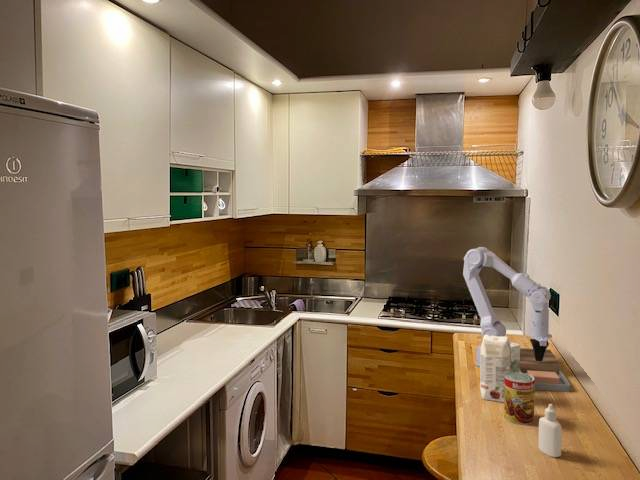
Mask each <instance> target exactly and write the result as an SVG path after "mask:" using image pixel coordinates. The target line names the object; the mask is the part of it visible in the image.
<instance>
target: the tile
mask: <svg viewBox="0 0 640 480" xmlns="http://www.w3.org/2000/svg"><path fill="white" fill-rule="evenodd" d="M527 374H529V375H531V376H533V377H534V378H535V383H549V384H559V377H558V375H557V374H556V372H546V371H529V370H527Z"/></svg>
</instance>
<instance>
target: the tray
mask: <svg viewBox="0 0 640 480" xmlns="http://www.w3.org/2000/svg"><path fill="white" fill-rule="evenodd" d="M519 372H521V370H520V368H519ZM526 374H527V373H526ZM558 377H559V384H549V383H535V391H536V390H537V391H539V390H540V391H549V392H550V391H551V392H563V393H565V392H566V393H571V392H572V385H571V384H570V382H569V380H568V378H566V376H565V374H564V373H563V372H562V370H561V371H559V375H558Z"/></svg>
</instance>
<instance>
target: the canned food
mask: <svg viewBox="0 0 640 480" xmlns="http://www.w3.org/2000/svg"><path fill="white" fill-rule="evenodd" d="M535 391H536V390H535V378H534V377H533V376H531V375H529V374H526V373H521V372H510V373H506V374H505V375H504V402H503V418H504V419H505V420H506V421H508V422H509V423H512V424H515V425H523V426H524V425H525V426H526V425H530V424H532V423H534V421H535Z"/></svg>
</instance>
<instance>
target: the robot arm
mask: <svg viewBox="0 0 640 480" xmlns="http://www.w3.org/2000/svg"><path fill="white" fill-rule="evenodd" d="M463 261H464V262H463V268H462V269H463V271H462V276H463V278H464V281H465V284H466V286H467V288H468V291H469V293H470V296H471V298H472V301H473V303H474V306H475V307H476V310H477V313H478V316H479V318H480V325H479V326H480V329H481V338H482V339H483V338H484V335H492V336H506V333H507V329H506V326H505V325H504V324H503V323H502V322H501V320H500V318H499V317H498V316H497V315H496V314H495V311H494V309H493V307H492V305H491V302H490V299H489V296H488V295H487V292H486V289H485V288H484V287H485V286H484V285H483V283H482V280H481V277H480V272H481V270H482V268H483V267H489V268H493V269H495V270H496V271H497V272H499V273H500V274H502V275H503V276H504V277H506V278H508V279H509V280H510V281H511V286H513V287H514V288H515V289H517V290H518V291H519V292H520V293H521V294H522V295H523V296H525V297H526V298H528V300H529V302H530V304H531V305H530V306H531V307H530V308H531V309H530V332H529V337H530V338H529V341H530V343H531V346H532V349H533V350H534V356H535V360H536V361H543V358H544V354H545V350H547V349H548V347H549V344H550V343H549V342H548V341H549V340H548V339H550V338H551V339H552V338H553V335H552V334H549V329H550V325H549V323H550V322H549V321H550V317H549V316H550V309H549V307H550V306H549V304H550V303H549V301H550V299H551V296H552V295H551V292H550V290H549V289H548V288H547V287H546V286H543V285H541V284H540V283H537V282H536V281H534V280H533V279H532V278H531V277H530V274H528V273H526V274H525V273H524V272H520V273H519V272H517V271H515V270H514V269H513V268H512V267H510V265H508V264H507V263H506V262H504V261H503V260H502V259H501V258H500V257H498V256H497V254H496V253H495V252H493V251H491V250H489V249H488V248H487V247H485V246H479V247H476V248H471V249H469V250H468V251H467V252H466V254H465V255H464V257H463ZM480 362H481V344H478V346H477V347H476V362H475V364H474V365H475V366H477V367H480Z"/></svg>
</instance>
